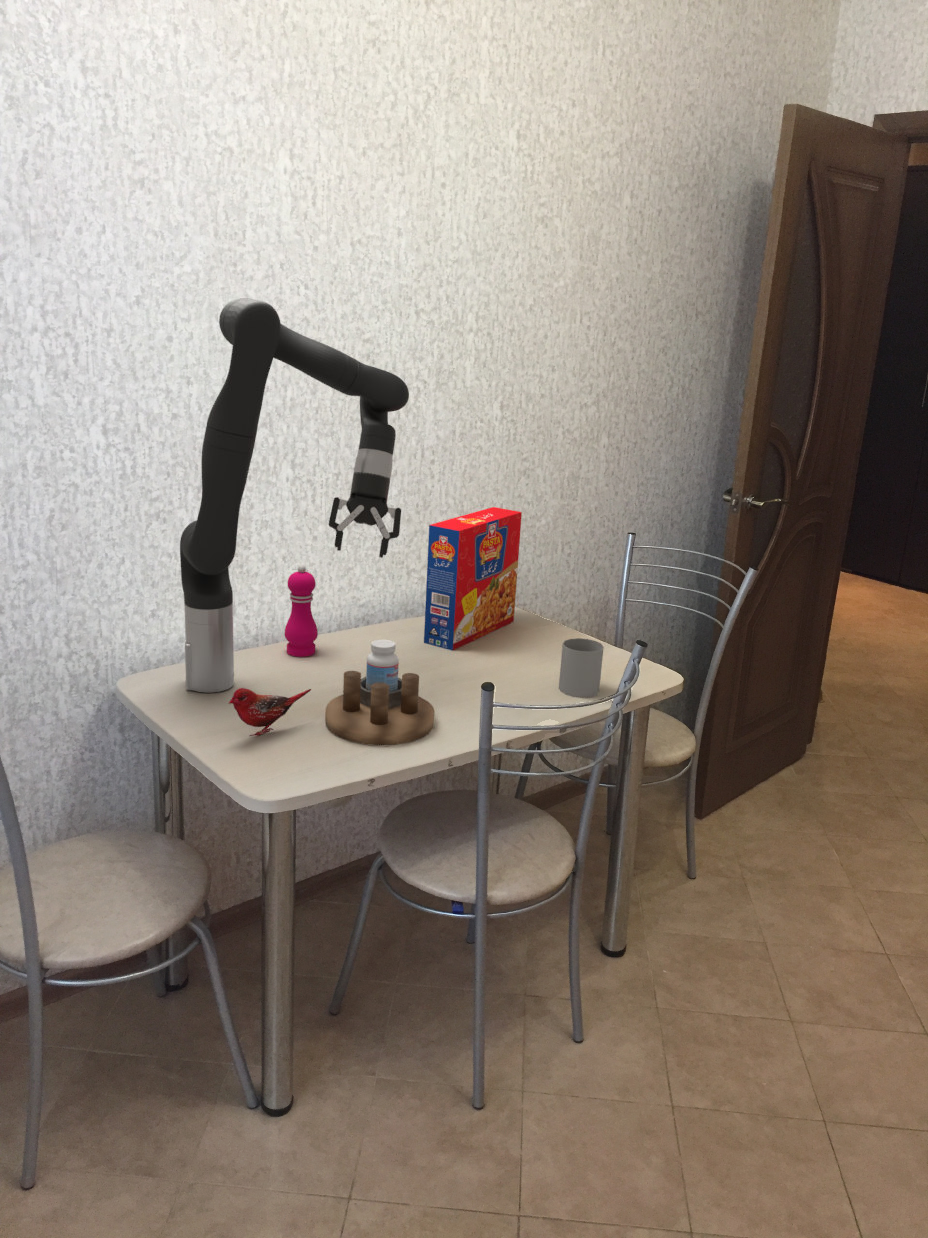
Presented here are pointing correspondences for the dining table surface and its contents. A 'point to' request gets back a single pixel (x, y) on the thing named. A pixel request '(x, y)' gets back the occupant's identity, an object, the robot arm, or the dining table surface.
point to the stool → (379, 712)
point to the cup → (580, 667)
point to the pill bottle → (382, 665)
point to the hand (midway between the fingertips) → (360, 553)
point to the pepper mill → (301, 615)
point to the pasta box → (471, 576)
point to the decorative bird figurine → (261, 707)
